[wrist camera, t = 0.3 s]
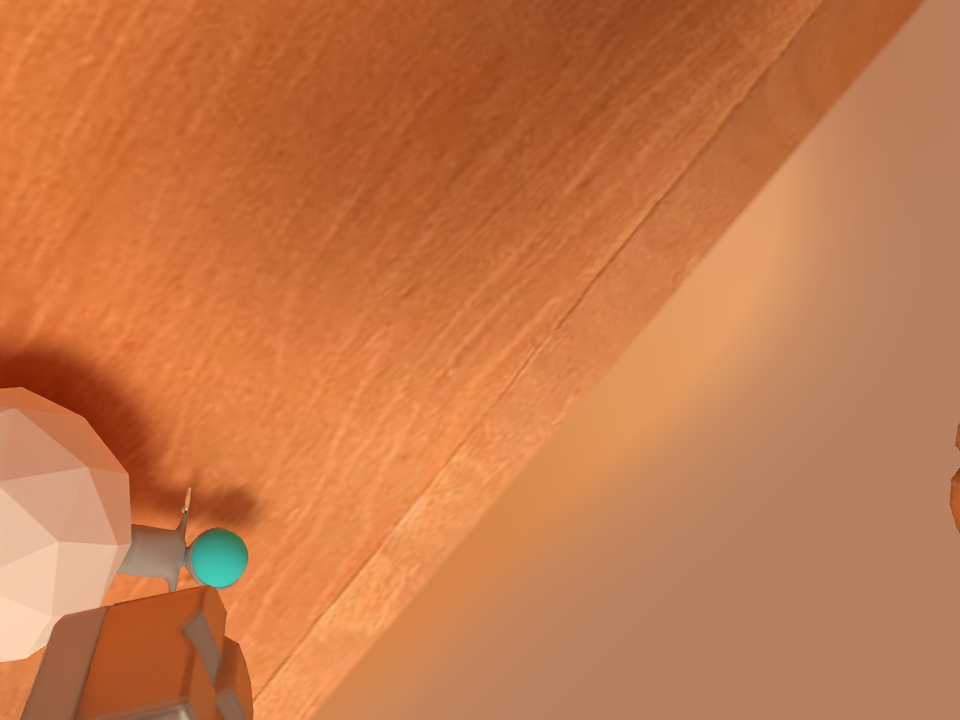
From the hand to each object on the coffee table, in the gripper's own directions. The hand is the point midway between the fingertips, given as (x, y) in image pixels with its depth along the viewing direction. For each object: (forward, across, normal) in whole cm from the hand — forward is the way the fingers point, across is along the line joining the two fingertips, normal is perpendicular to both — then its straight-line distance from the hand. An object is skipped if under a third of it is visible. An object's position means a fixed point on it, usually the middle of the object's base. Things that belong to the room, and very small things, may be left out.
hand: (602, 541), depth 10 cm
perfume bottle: (+20, +13, +9) cm, 26 cm away
